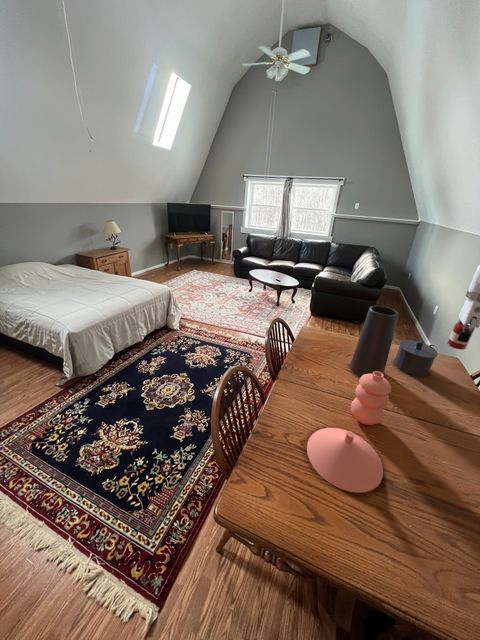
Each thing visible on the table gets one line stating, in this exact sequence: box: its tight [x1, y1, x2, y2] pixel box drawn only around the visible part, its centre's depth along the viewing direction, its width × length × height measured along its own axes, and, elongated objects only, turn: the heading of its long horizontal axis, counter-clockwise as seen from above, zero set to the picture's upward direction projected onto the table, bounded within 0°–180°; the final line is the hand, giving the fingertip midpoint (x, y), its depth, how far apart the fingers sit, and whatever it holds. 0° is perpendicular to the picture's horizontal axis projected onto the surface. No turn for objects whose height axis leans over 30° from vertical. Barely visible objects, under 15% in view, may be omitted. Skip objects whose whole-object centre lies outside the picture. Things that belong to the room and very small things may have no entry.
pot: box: [393, 346, 436, 377], centre depth 120 cm, size 14×14×10 cm
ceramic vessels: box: [306, 371, 392, 494], centre depth 79 cm, size 35×21×19 cm, turn 140°
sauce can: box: [446, 322, 475, 351], centre depth 109 cm, size 6×6×9 cm
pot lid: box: [398, 339, 439, 359], centre depth 118 cm, size 15×15×4 cm
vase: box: [349, 305, 400, 378], centre depth 112 cm, size 14×14×29 cm
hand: (460, 337), depth 109 cm, fingers closed on sauce can, 6 cm apart
